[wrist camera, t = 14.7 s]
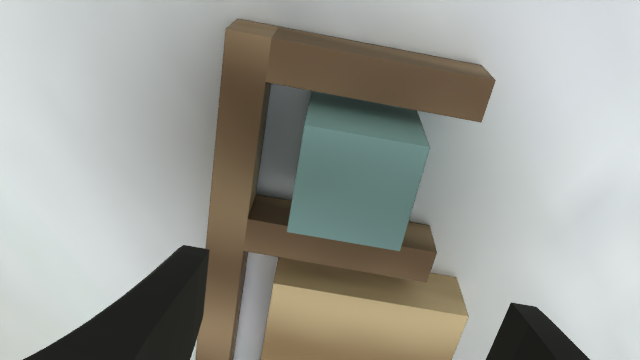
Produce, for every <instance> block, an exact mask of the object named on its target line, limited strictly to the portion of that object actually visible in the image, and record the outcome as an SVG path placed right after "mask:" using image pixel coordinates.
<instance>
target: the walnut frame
mask: <svg viewBox="0 0 640 360" xmlns="http://www.w3.org/2000/svg"><path fill="white" fill-rule="evenodd" d="M495 81H496V80H495V79H494V78H493V77H492V76H491V75H490V74H489V73H488V72H487V71H486V70H485V68H484V67H483V66H482V65H477V64H472V63H467V62H462V61H456V60H451V59H446V58H441V57H436V56H430V55H425V54H420V53H415V52H409V51H404V50H399V49H394V48H388V47H383V46H378V45H373V44H367V43H362V42H357V41H352V40H347V39H341V38H336V37H331V36H326V35H320V34H315V33H310V32H305V31H299V30H294V29H289V28H284V27H278V26H273V25H268V24H263V23H258V22H252V21H247V20H242V19H237V20H236V21H234V22H233V23H232V24H231V25H230V26H229V27H228V28H226V32H225V43H224V54H223V65H222V76H221V87H220V98H219V109H218V120H217V131H216V142H215V153H214V164H213V174H212V185H211V196H210V207H209V218H208V229H207V240H206V249H209V250H210V252H209V262H208V272H207V283H206V293H205V303H204V314H203V319H202V323H201V326H200V329H199V333H198V338H197V349H196V360H233V357H234V350H235V343H236V335H237V328H238V321H239V314H240V306H241V299H242V292H243V284H244V277H245V270H246V263H247V255H248V252H253V253H259V254H265V255H271V256H276V257H282V258H288V259H294V260H299V261H305V262H311V263H316V264H322V265H328V266H334V267H339V268H345V269H351V270H356V271H362V272H368V273H374V274H379V275H385V276H391V277H397V278H402V279H408V280H414V281H419V282H425V283H427V280H428V277H429V274H430V271H431V269H432V266H433V263H434V260H435V257H436V254H437V251H436V247H435V244H434V240H433V236H432V233H431V229H430V226H429V225H423V224H417V223H412V222H408V225H407V228H406V232H405V235H404V239H403V242H402V246H401V249H400V251H396V250H390V249H384V248H378V247H372V246H366V245H360V244H355V243H349V242H343V241H337V240H331V239H325V238H319V237H313V236H308V235H302V234H296V233H290V232H287V228H288V222H289V215H290V209H291V203H292V201H289V200H283V199H278V198H272V197H266V196H261V195H256V190H257V182H258V175H259V168H260V161H261V153H262V146H263V139H264V131H265V124H266V117H267V109H268V102H269V95H270V88H271V83H273V84H278V85H284V86H289V87H295V88H300V89H305V90H311V91H316V92H321V93H327V94H332V95H337V96H343V97H348V98H353V99H359V100H364V101H369V102H375V103H380V104H386V105H391V106H396V107H402V108H407V109H412V110H418V111H423V112H428V113H434V114H439V115H444V116H450V117H455V118H460V119H466V120H471V121H476V122H482V119H483V116H484V113H485V110H486V107H487V104H488V101H489V98H490V95H491V92H492V89H493V86H494V84H495Z"/></svg>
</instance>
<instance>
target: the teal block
mask: <svg viewBox="0 0 640 360" xmlns="http://www.w3.org/2000/svg"><path fill="white" fill-rule="evenodd" d="M429 149H430V146H429V143H428V141H427V138H426V135H425V132H424V129H423V127H422V124H421V121H420V118H419V115H418V113H417V110H412V109H407V108H402V107H396V106H391V105H386V104H380V103H375V102H369V101H364V100H359V99H353V98H348V97H343V96H337V95H332V94H327V93H321V92H316V91H312V93H311V97H310V102H309V106H308V111H307V115H306V120H305V124H304V130H303V136H302V142H301V149H300V155H299V161H298V167H297V173H296V179H295V185H294V191H293V197H292V203H291V209H290V215H289V222H288V228H287V232H290V233H296V234H302V235H308V236H313V237H319V238H325V239H331V240H337V241H343V242H349V243H355V244H360V245H366V246H372V247H378V248H384V249H390V250H396V251H400V249H401V246H402V242H403V239H404V235H405V232H406V228H407V225H408V221H409V218H410V215H411V211H412V208H413V204H414V201H415V197H416V194H417V190H418V187H419V183H420V180H421V177H422V173H423V170H424V166H425V163H426V159H427V156H428V152H429Z"/></svg>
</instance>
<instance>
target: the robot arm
mask: <svg viewBox="0 0 640 360" xmlns="http://www.w3.org/2000/svg"><path fill="white" fill-rule="evenodd" d="M209 252H210V250H209V249H203V248H197V247H192V246H186V245H183V246H182V247H180V248H178V249H177V250H176V251H175V252H174V253H173V254H172V255H171V256H170V257H169V258H168V259H166V260H165V261H164V262H163V263H162V264H161V265H160V266H159V267H157V268H156V269H155V270H154V271H153V272H152V273H151V274H149V275H148V276H147V277H146V278H145V279H143V280H142V281H141V282H140V283H138V284H137V285H136V286H135V287H133V288H132V289H131V290H130V291H129V292H127V293H126V294H125V295H124V296H122V297H121V298H120V299H118V300H117V301H116V302H114V303H113V304H111V305H110V306H109V307H107V308H106V309H105V310H103V311H102V312H100V313H99V314H98V315H96V316H95V317H93V318H92V319H91V320H89V321H88V322H86V323H85V324H83V325H82V326H80V327H79V328H77V329H75V330H74V331H72V332H71V333H69V334H68V335H66V336H64V337H63V338H61V339H59V340H58V341H56V342H54V343H53V344H51V345H49V346H48V347H46V348H44V349H42V350H40V351H39V352H37V353H35V354H33V355H31V356H29V357H27V358H25V359H23V360H190V358H191V355H192V352H193V349H194V346H195V342H196V339H197V336H198V333H199V329H200V326H201V323H202V319H203V314H204V303H205V293H206V283H207V272H208V262H209ZM486 360H590V359H589V358H588V357H587V356H586V355H585V354H584V353H583V352H582V351H581V350H580V349H579V348H578V347H577V346H576V345H575V344H574V343H573V342H572V341H571V340H570V339H569V338H568V337H567V336H566V335H565V334H564V333H563V332H562V331H561V330H560V329H559V328H558V327H557V326H556V325H555V324H554V323H553V322H552V321H551V320H550V319H549V318H548V317H547V316H546V315H545V314H544V313H542V312H541V311H540V310H539V309H538V308H537V307H533V306H528V305H522V304H516V303H511V304H510V306H509V309H508V311H507V313H506V315H505V318H504V320H503V322H502V324H501V327H500V329H499V331H498V333H497V336H496V338H495V340H494V342H493V345H492V347H491V349H490V352H489V354H488V356H487V358H486Z"/></svg>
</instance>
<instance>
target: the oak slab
mask: <svg viewBox="0 0 640 360" xmlns="http://www.w3.org/2000/svg"><path fill="white" fill-rule="evenodd" d="M468 317H469V315H468V312H467V309H466V306H465V303H464V300H463V297H462V294H461V290H460V287H459V284H458V281H457V278H456V277H451V276H446V275H440V274H434V273H430V274H429V277H428V280H427V283H425V282H419V281H414V280H408V279H402V278H397V277H391V276H385V275H379V274H374V273H368V272H362V271H356V270H351V269H345V268H339V267H334V266H328V265H322V264H316V263H311V262H305V261H299V260H294V259H288V258H282V257H279V258H278V263H277V268H276V274H275V279H274V284H273V290H272V295H271V301H270V307H269V313H268V319H267V324H266V330H265V336H264V342H263V348H262V354H261V359H260V360H452V357H453V355H454V352H455V350H456V347H457V345H458V342H459V340H460V337H461V335H462V332H463V330H464V327H465V325H466V322H467V320H468Z"/></svg>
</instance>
